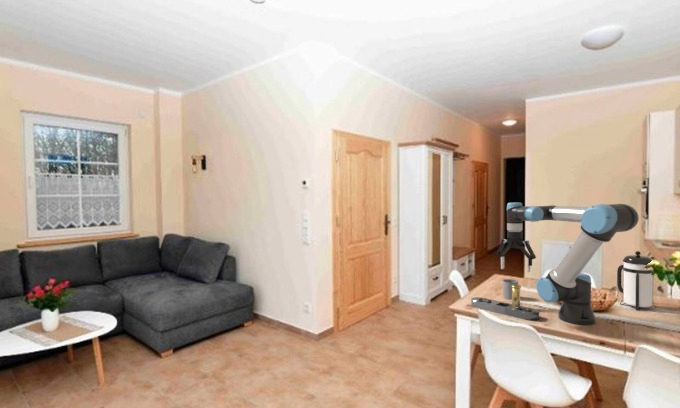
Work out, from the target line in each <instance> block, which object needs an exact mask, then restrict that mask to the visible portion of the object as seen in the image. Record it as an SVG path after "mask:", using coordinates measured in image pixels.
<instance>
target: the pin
mask: <svg viewBox="0 0 680 408" xmlns="http://www.w3.org/2000/svg"><path fill="white" fill-rule="evenodd" d="M511 287H512V300H511V304H514V305H519V306H521V287H522V286H521V285H520V284H518V285H511Z"/></svg>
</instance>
